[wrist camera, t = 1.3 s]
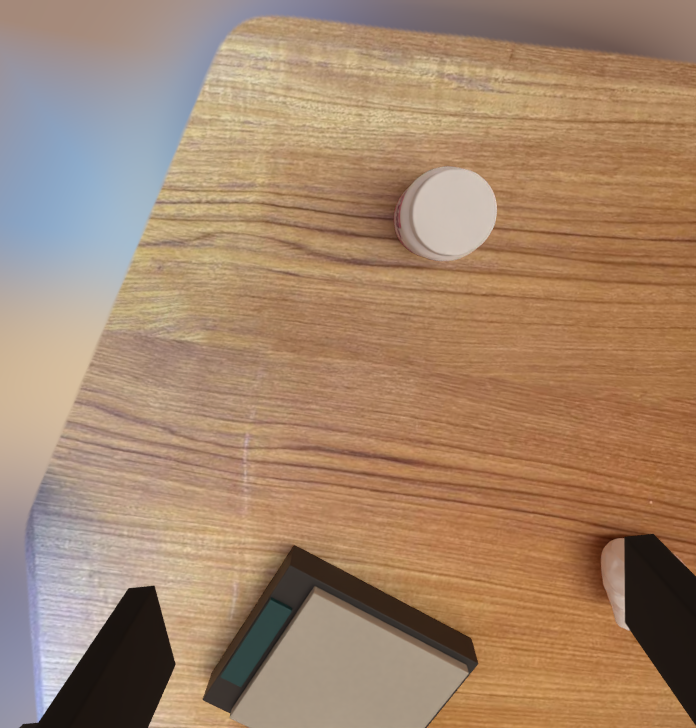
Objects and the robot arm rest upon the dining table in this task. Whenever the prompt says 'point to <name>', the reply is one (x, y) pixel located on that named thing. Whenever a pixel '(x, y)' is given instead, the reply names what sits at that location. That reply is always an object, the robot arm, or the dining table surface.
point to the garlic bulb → (615, 578)
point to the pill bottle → (445, 213)
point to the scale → (337, 656)
